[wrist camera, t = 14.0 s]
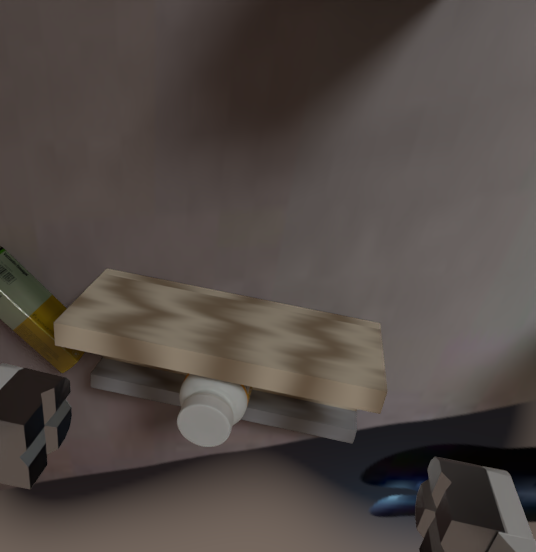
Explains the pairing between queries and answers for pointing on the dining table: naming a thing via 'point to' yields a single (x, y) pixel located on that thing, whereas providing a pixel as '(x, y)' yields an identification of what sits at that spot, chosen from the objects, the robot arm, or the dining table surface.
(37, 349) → the medication box
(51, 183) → the dining table surface
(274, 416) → the cleat board
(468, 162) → the dining table surface
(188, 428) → the supplement bottle
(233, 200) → the dining table surface
